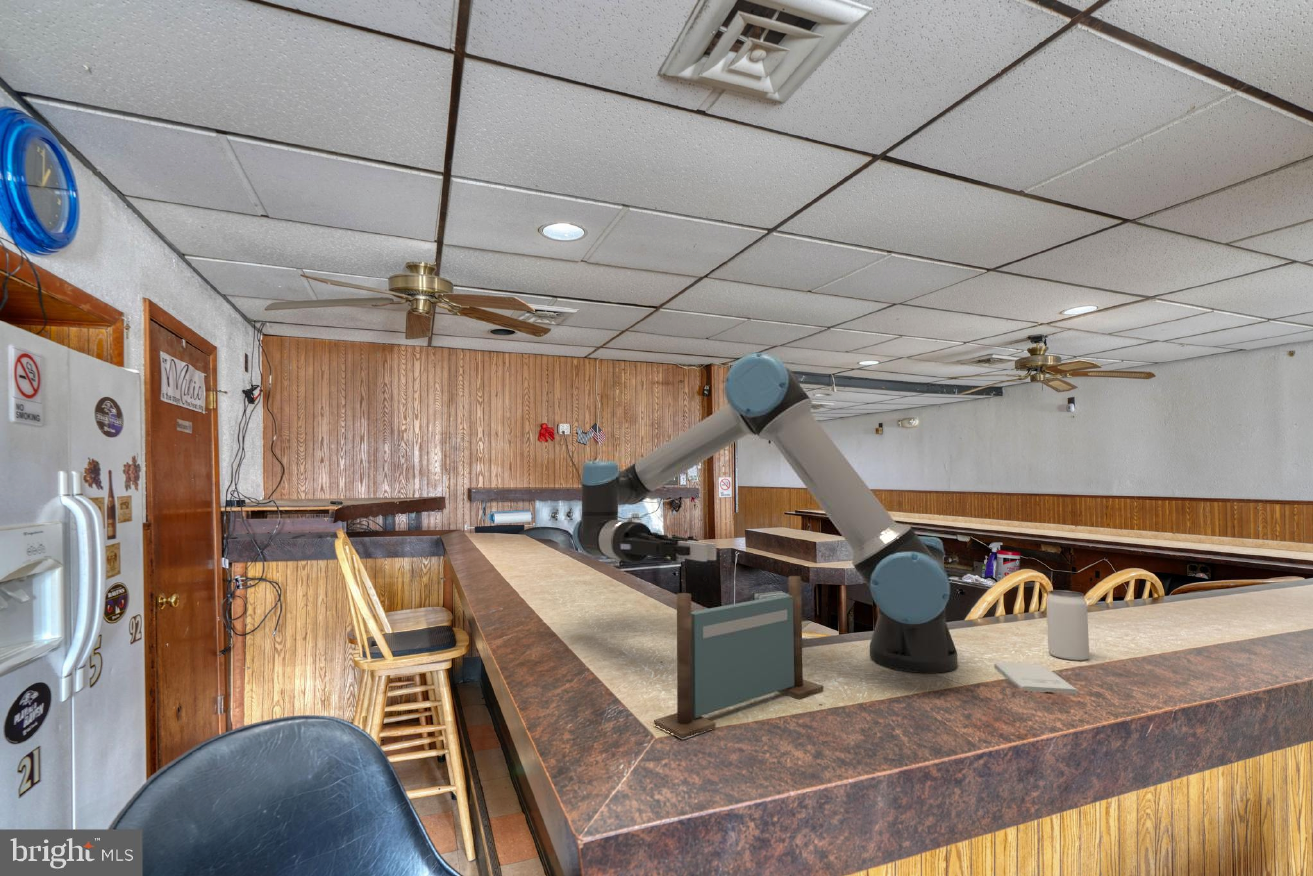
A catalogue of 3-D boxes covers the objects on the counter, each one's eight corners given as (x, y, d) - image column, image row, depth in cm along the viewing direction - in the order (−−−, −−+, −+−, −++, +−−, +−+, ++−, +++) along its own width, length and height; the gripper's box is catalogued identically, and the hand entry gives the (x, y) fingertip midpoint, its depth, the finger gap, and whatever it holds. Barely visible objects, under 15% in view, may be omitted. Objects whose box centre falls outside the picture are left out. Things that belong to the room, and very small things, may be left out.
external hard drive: (1044, 674, 107) (1079, 699, 95) (994, 671, 109) (1021, 695, 97) (1044, 664, 107) (1078, 688, 95) (994, 662, 109) (1021, 685, 97)
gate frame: (793, 681, 102) (792, 572, 103) (823, 690, 97) (821, 577, 98) (653, 726, 84) (653, 593, 85) (682, 740, 79) (681, 600, 80)
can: (1097, 661, 112) (1094, 596, 113) (1062, 661, 113) (1059, 596, 113) (1074, 651, 119) (1071, 589, 120) (1041, 651, 119) (1038, 589, 120)
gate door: (786, 682, 98) (784, 594, 99) (794, 685, 96) (793, 596, 97) (687, 714, 85) (687, 612, 86) (695, 718, 83) (695, 614, 84)
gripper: (656, 557, 122) (741, 571, 103) (595, 563, 113) (676, 580, 94) (656, 519, 122) (740, 527, 104) (595, 523, 113) (676, 531, 95)
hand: (709, 552), depth 99 cm, fingers closed
